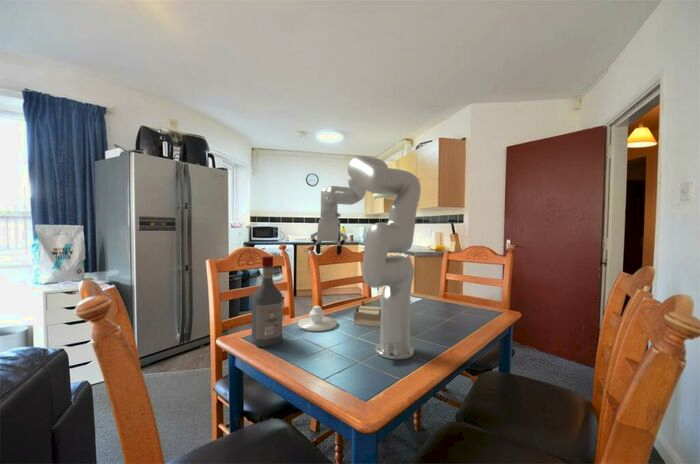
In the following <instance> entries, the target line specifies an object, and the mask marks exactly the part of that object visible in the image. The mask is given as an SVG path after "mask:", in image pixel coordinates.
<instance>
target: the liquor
mask: <svg viewBox="0 0 700 464" xmlns="http://www.w3.org/2000/svg"><path fill="white" fill-rule="evenodd" d="M261 263H262V264H261V265H262V281H261V284H260V286H258V287H257V289H256V290H255V291H254V292H253V294H252V296H251V341H252V343H253V344H254V345H255V346H256V347H257V348H268V347H272V346H276V345H277V346H278V345H279V344H280V343H281V342H282V340H283V307H284V306H283V301H284V299H283V298H284V297H283V294H282V292H281V291H280V290H279V289H278V288H277V286H276V285H274V281H273V280H274V279H273V274H274V273H273V270H274V269H273V267H274V256H267V255H265V256H262V260H261Z"/></svg>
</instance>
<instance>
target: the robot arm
mask: <svg viewBox="0 0 700 464" xmlns="http://www.w3.org/2000/svg"><path fill="white" fill-rule="evenodd" d="M347 175H348V178H347V184H348V186H337V185H330V186H328V187H326V188H322V189H321V190H320V219H318V220H319V221H318V222H317V223H318V224H317V231H316V232H314V233H313V234H310V238H311V240H312V242H313V243H314V245H315V252H316V255H320V254H322V253H321V249H322V248H321V247H322V245H321V243H322V242H335V243H336V244H337V246H336V255H337V256H340V255H341V254H342V249H343V247H342V246H343V245H344V244H345V243H346V241H347V240H348V236H347V234H344V233H342V231H341V229H342V228H341V221H340V219H338V218H340V217H341V213H339V212H338V209H339V207H338V205H346V206H347V205H349V206H351V205H355V204H357V203H359V202H361V201H362V200H363V199H364V198H365V196H366V192H370V193H372V194H377V195H388V196H389V195H391V196H396V197H395V198H394V200H393V201H392V203H391V205H390V207H389V210H388V220H387V222H376V223H374V224H372V225H371V226H370V227H369V228H368V230H367V232H366V233H365V238H364V248H363V257H362V258H363V260H362V269H361V270H362V279H363V281H364V283H365V284H366V285H367V286H368V287H370V288H374V289H377V288H383V289H382V292H381V296H380V307H381V324H380V327H379V328H380V331H379V333H380V334H379V335H380V336H379V340H380V341H379V342H378V343H377V344H376V345H375V352H376V354H377V355H378V356H380V357H383V358H385V359H388V360H407V359H409V358H411V357H413V356H414V354H415V348H414V347H413V346H412V345H410V332H411V330H410V323H411V321H410V320H411V319H410V318H411V293H412V287H413V286H412V285H413V281H414V277H415V276H414V275H415V268H414V264H413V262H412V261H411V260H410V258H408V257H407V256H403V255H388V254H393V253H404V252H407V251H409V250H410V249H411V248H412V245H413V241H414V236H415V235H414V234H415V227H416V226H415V225H416V219H417V211H418V207H419V206H418V205H419V201H420V197H421V184H420V181H419V178H418V177H417V176H416V175H415V174H413V173H412V172H409V171H407V170H403V169H398V168H392V167H391V168H389V167H388V165H387V163H386V162H385V161H384V160H382V159H380V158H377V157H371V156H364V155H356V156H354V157H353V158H352V159H351V160H350V161H349V162H348V166H347Z"/></svg>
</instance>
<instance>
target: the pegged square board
mask: <svg viewBox="0 0 700 464" xmlns="http://www.w3.org/2000/svg"><path fill="white" fill-rule="evenodd" d="M380 324H381V306H376V305H375V306H373V305H365V301H363V300H362V301H361V305H360V306H355V311H354V312H353V325H357V326H366V327H367V326H368V327H377V328H380Z"/></svg>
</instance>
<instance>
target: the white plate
mask: <svg viewBox="0 0 700 464" xmlns="http://www.w3.org/2000/svg"><path fill="white" fill-rule="evenodd" d="M337 326H338V321H337V320H336V319H335V318H332V317H330V316H324V317H323V319H322V321H321V323H313V322H312V320H311V318H310V316H307V317H304V318H301V319H300V320H298V321H297V327H298V328H299V329H301V330H302V331H308V332H325V331H329V330H332V329H334V328H336V327H337Z"/></svg>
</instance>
